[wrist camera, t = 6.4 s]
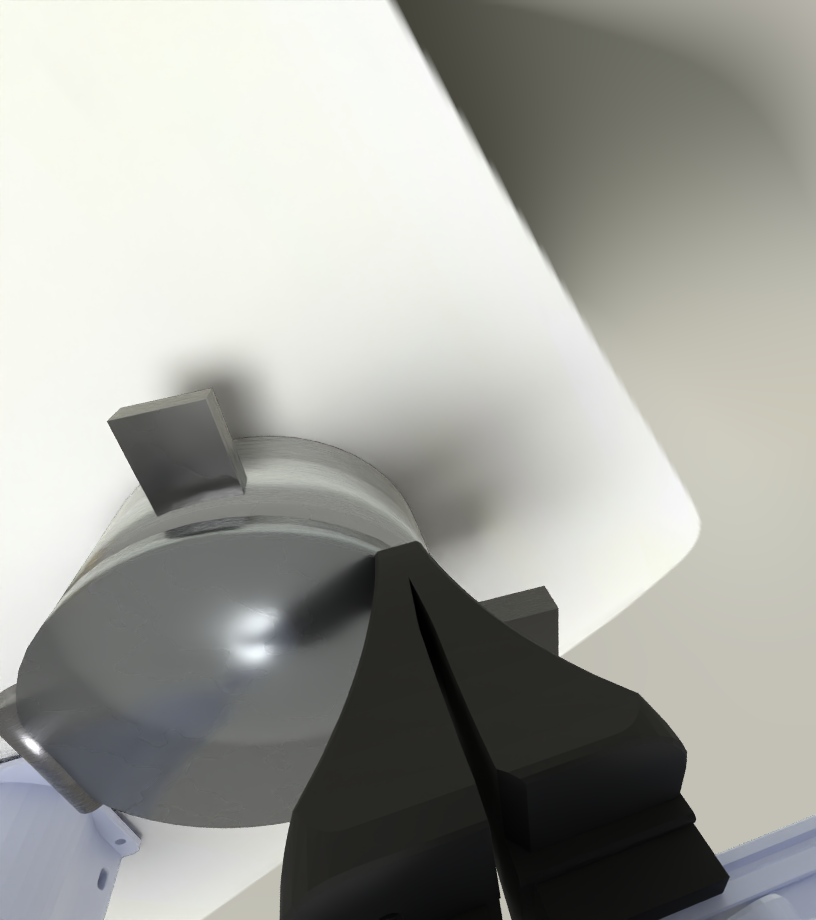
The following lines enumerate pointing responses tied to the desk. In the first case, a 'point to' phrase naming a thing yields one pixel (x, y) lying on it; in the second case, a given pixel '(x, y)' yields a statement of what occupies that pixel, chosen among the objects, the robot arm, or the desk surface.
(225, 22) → the desk surface
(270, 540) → the lid
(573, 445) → the desk surface
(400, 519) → the pot
